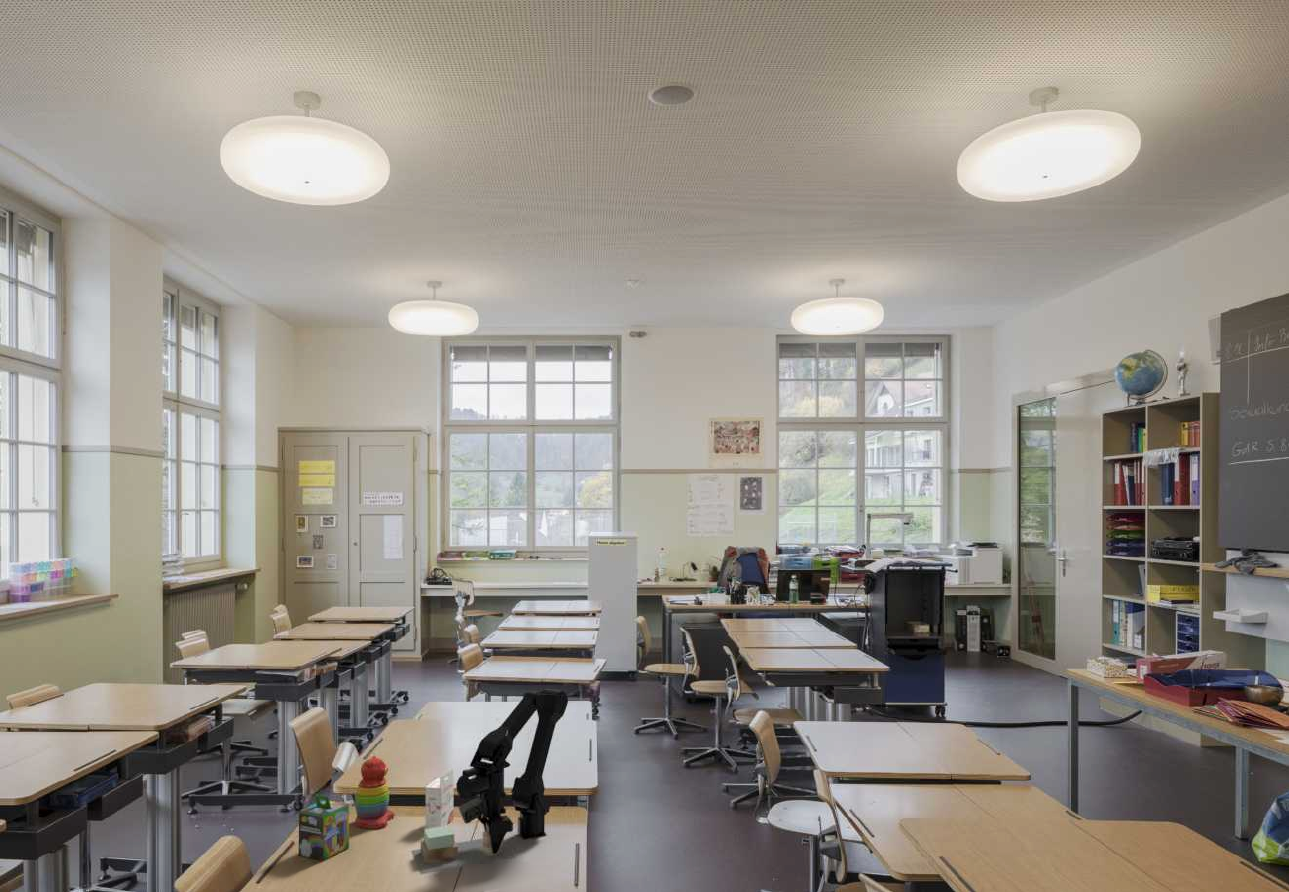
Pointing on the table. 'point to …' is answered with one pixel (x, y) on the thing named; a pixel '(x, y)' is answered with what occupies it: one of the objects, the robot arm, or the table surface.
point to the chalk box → (323, 829)
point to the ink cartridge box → (440, 801)
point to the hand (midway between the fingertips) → (492, 849)
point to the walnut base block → (438, 853)
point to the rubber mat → (463, 857)
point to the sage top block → (438, 837)
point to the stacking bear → (373, 796)
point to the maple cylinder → (489, 846)
